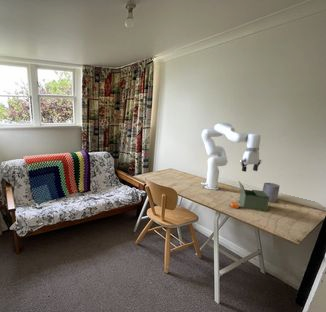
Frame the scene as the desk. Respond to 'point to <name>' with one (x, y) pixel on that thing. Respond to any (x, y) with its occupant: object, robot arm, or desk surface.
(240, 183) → the flap
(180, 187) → the desk surface
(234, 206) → the packet
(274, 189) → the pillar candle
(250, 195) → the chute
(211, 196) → the desk surface
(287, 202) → the desk surface
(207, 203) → the desk surface
